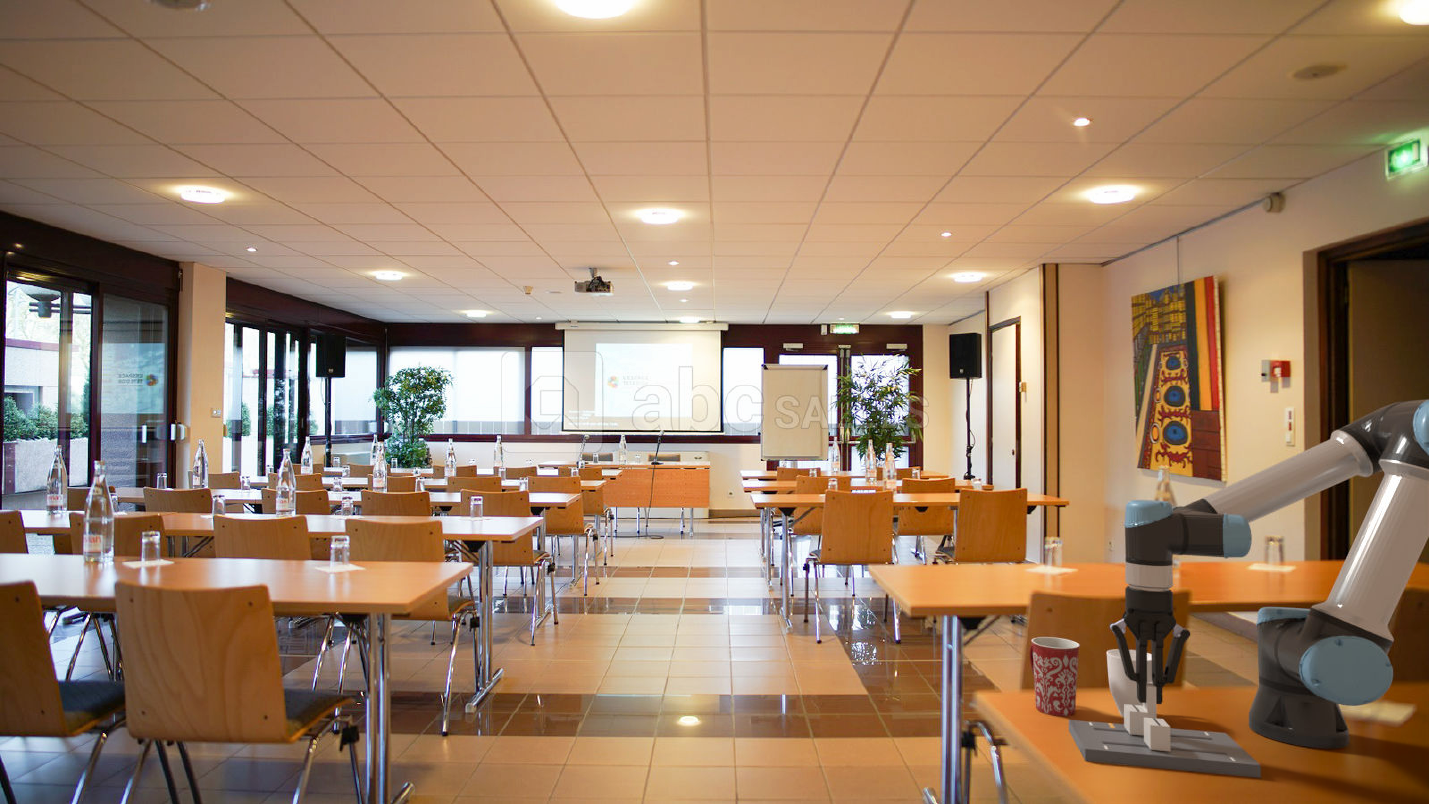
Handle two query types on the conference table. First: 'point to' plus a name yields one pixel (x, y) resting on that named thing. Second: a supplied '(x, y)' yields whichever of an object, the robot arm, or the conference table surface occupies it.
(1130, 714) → the block
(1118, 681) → the mug
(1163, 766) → the console
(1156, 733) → the fader
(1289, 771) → the conference table surface
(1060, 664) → the mug
